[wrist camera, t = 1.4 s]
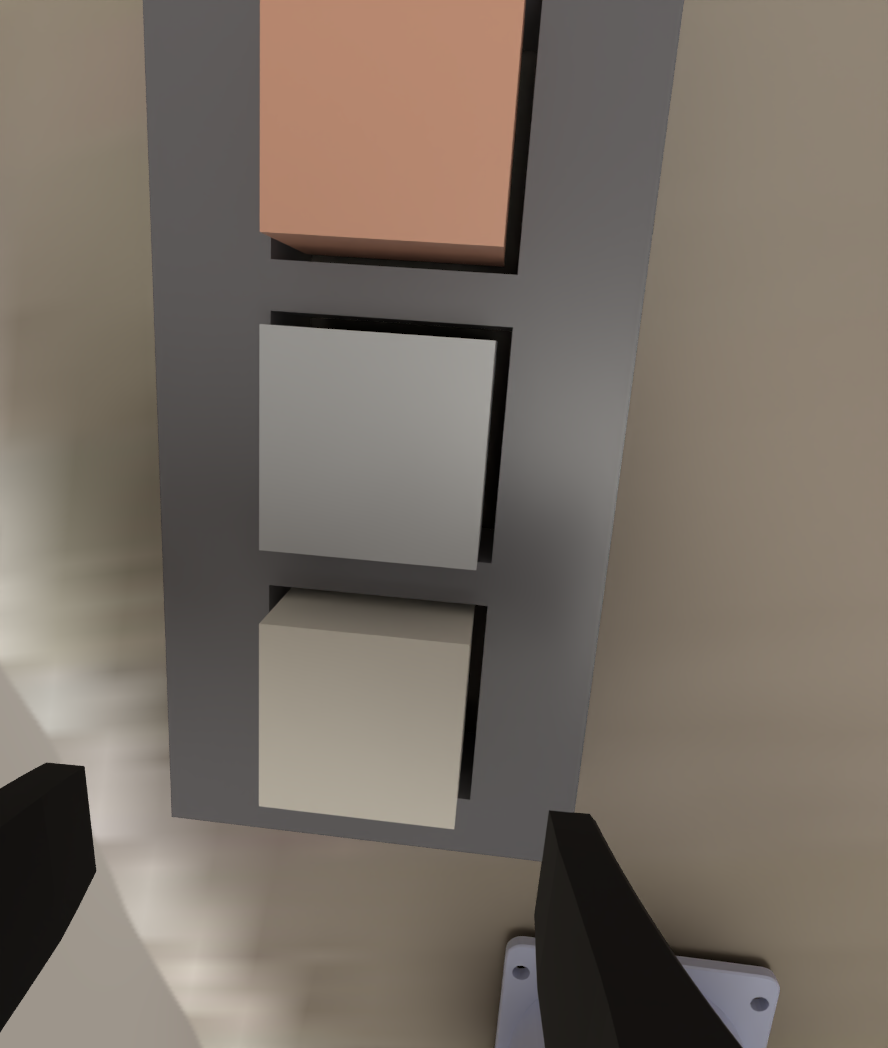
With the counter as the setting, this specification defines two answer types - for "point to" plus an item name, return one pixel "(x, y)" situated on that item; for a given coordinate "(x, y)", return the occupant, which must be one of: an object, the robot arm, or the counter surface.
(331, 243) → the terracotta key
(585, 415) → the grey slotted base
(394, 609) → the cream key
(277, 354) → the grey key
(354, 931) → the counter surface
